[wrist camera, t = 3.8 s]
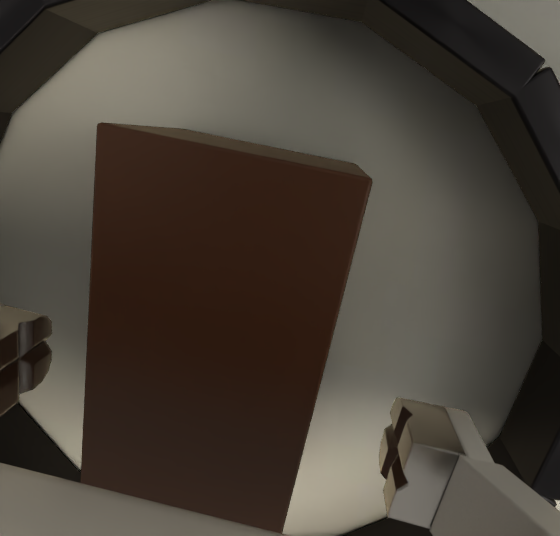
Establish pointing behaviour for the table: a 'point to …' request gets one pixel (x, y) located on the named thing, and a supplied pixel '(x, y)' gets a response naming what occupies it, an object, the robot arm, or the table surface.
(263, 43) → the table surface
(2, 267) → the table surface
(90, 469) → the brown rectangular block
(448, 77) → the pan
